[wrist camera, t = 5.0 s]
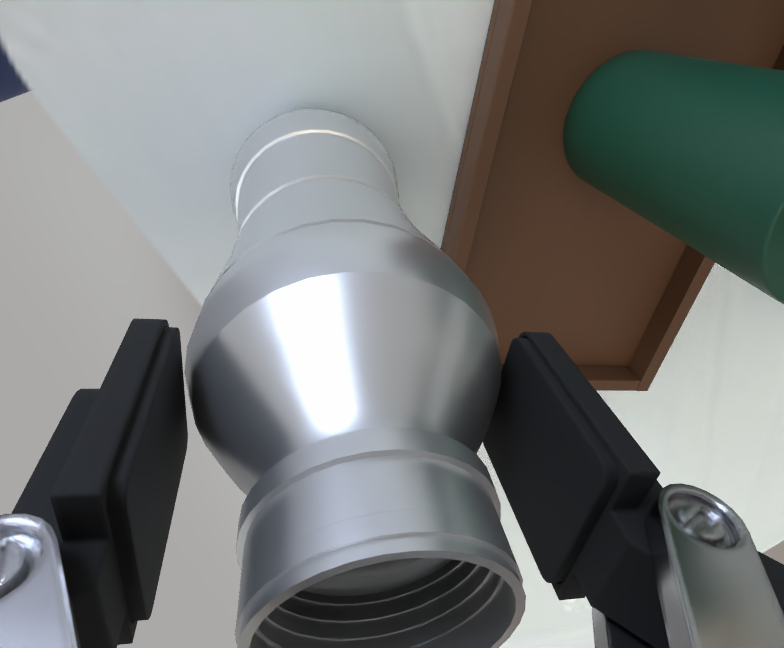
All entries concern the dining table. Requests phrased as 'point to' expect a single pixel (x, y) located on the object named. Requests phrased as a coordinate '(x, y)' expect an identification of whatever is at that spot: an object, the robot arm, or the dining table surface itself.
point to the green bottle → (690, 154)
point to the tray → (581, 181)
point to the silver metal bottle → (350, 406)
